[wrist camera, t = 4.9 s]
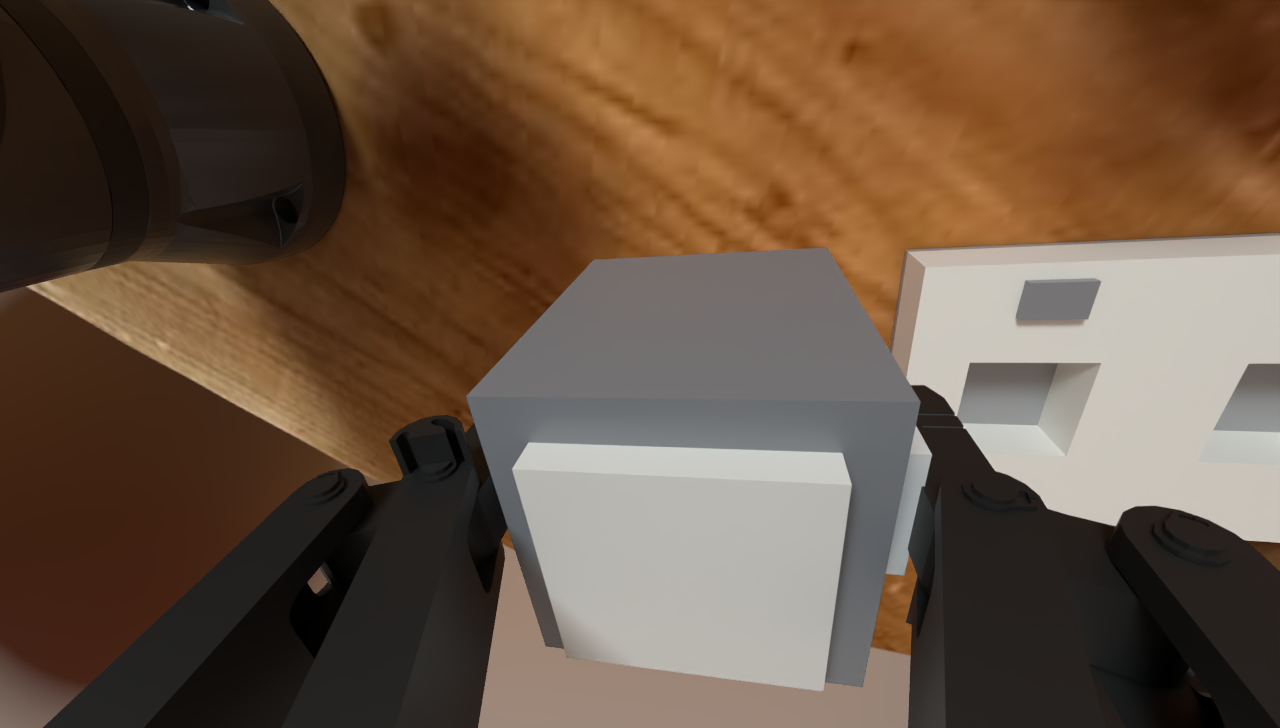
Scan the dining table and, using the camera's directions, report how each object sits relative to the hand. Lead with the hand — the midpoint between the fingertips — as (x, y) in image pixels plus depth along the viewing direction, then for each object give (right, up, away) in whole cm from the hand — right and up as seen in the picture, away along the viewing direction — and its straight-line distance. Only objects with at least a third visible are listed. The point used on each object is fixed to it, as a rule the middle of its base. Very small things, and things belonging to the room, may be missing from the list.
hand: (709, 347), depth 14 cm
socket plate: (+21, -1, +9) cm, 23 cm away
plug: (0, +1, +2) cm, 2 cm away
